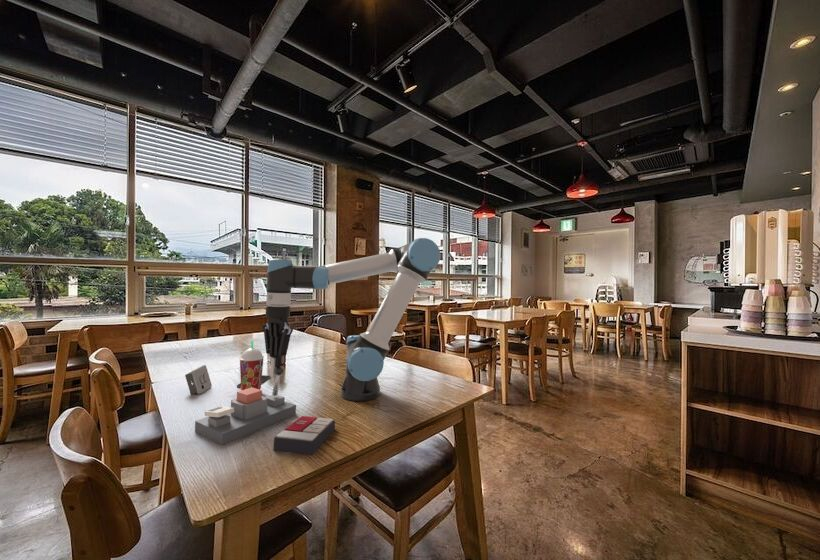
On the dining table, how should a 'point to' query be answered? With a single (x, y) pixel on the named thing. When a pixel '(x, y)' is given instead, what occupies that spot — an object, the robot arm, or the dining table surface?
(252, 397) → the push button
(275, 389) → the toggle lever
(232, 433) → the switch panel
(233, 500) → the dining table surface
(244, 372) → the smoothie
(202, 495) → the dining table surface
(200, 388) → the electrical switch
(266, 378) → the phone
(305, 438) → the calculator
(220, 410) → the rocker switch
